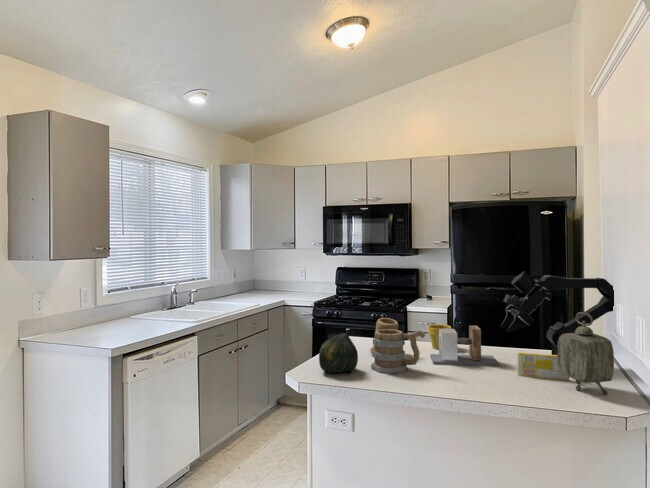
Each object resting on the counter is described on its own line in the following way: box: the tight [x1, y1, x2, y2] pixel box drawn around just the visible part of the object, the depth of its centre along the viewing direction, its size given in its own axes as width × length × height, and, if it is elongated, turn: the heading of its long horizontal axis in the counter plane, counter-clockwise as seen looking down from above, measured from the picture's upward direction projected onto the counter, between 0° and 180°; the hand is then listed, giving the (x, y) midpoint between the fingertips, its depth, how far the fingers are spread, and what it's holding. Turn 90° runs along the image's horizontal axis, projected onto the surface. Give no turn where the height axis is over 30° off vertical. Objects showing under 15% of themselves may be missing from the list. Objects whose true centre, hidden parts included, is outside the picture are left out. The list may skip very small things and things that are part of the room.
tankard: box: [370, 329, 426, 374], centre depth 169 cm, size 20×13×15 cm, turn 70°
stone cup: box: [369, 317, 399, 354], centre depth 194 cm, size 15×12×15 cm
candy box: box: [517, 351, 570, 382], centre depth 157 cm, size 16×2×8 cm, turn 65°
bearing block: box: [438, 328, 459, 361], centre depth 180 cm, size 6×9×11 cm, turn 172°
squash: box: [318, 332, 359, 374], centre depth 167 cm, size 14×15×15 cm
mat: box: [429, 353, 501, 367], centre depth 180 cm, size 25×12×1 cm, turn 82°
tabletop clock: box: [557, 311, 615, 396], centre depth 143 cm, size 14×9×25 cm, turn 12°
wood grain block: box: [457, 325, 482, 361], centre depth 180 cm, size 13×8×12 cm, turn 82°
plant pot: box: [427, 324, 452, 350], centre depth 202 cm, size 10×10×10 cm
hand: (504, 329), depth 178 cm, fingers open, 9 cm apart
